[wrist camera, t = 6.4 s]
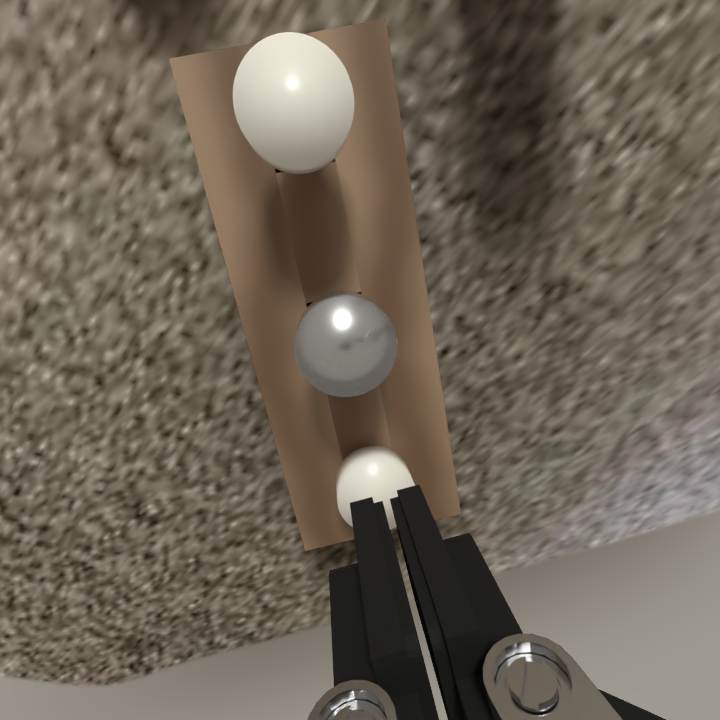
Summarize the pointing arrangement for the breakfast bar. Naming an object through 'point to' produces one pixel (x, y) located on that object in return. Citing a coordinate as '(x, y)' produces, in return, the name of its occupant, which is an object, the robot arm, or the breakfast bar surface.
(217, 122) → the knob block
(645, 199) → the breakfast bar surface
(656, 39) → the breakfast bar surface
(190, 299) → the breakfast bar surface
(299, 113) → the knob
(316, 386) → the middle knob
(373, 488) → the knob
